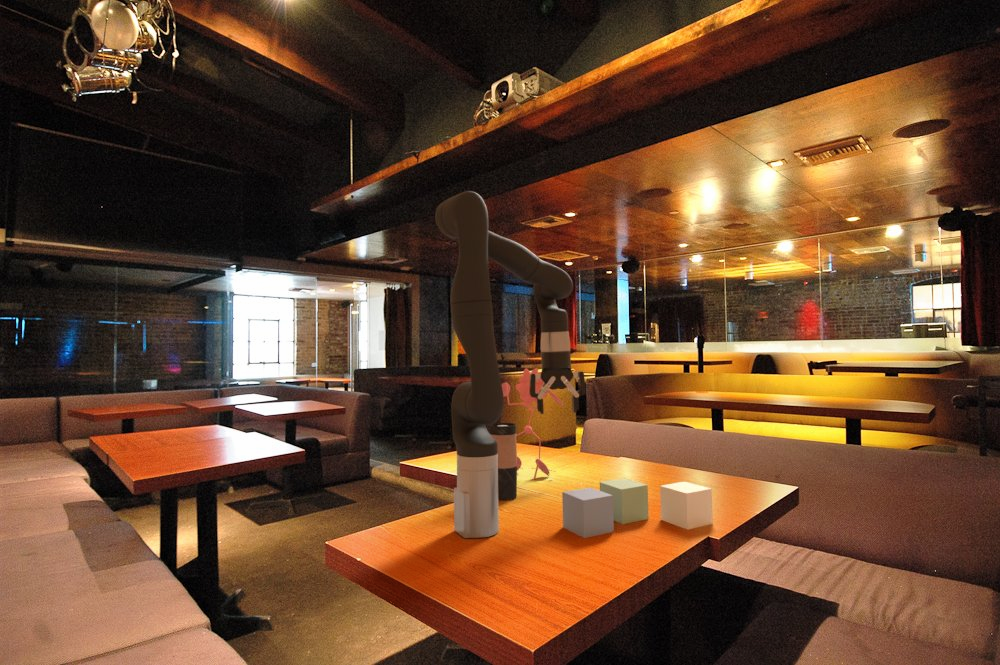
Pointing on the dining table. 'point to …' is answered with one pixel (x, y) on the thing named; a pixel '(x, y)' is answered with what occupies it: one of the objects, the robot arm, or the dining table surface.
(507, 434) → the travel mug
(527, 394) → the pink flower figurine
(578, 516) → the slate block
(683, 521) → the ivory block
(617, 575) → the dining table surface
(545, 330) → the robot arm
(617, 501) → the sage block
